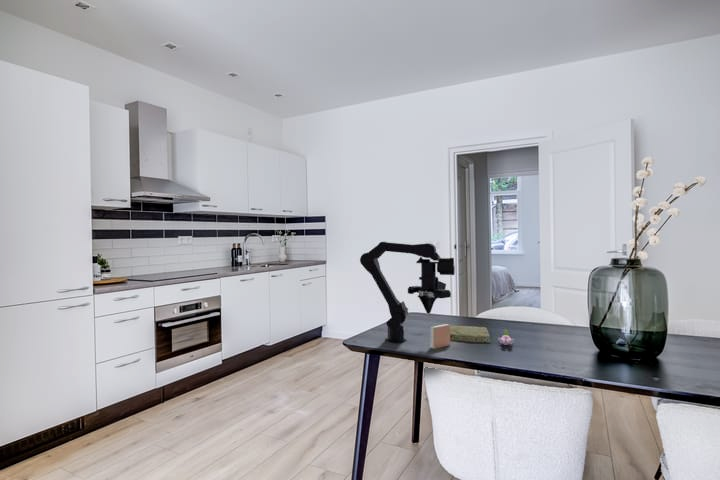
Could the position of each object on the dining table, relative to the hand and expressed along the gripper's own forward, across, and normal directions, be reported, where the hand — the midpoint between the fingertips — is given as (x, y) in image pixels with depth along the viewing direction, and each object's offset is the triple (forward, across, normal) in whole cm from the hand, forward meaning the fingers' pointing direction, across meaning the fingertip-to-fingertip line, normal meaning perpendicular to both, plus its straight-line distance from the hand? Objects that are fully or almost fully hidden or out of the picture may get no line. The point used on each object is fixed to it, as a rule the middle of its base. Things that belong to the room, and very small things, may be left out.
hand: (428, 313), depth 166 cm
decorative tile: (+13, -2, -20) cm, 24 cm away
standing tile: (+12, -6, 0) cm, 13 cm away
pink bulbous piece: (+12, -21, -22) cm, 33 cm away
